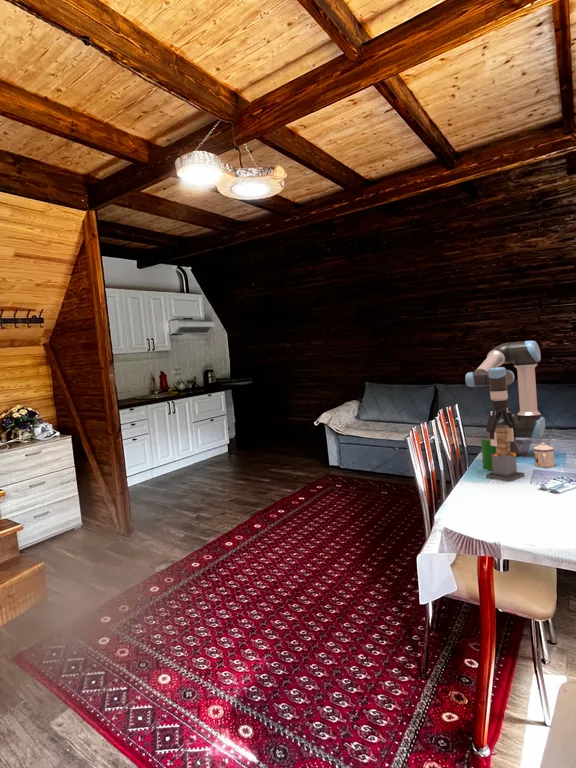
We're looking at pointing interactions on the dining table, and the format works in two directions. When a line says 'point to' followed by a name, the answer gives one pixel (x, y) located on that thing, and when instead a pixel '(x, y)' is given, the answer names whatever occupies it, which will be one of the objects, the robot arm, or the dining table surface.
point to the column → (502, 440)
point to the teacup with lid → (544, 455)
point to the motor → (487, 454)
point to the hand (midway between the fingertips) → (502, 443)
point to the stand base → (504, 467)
